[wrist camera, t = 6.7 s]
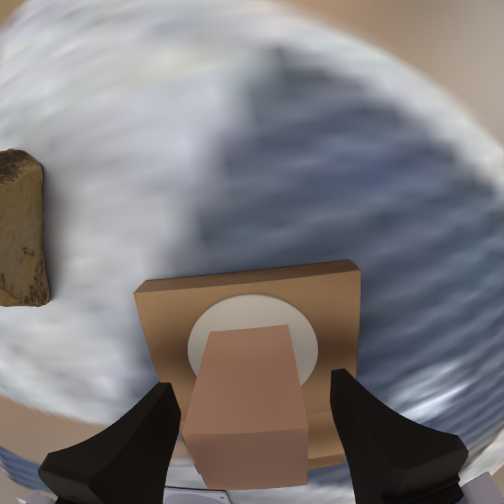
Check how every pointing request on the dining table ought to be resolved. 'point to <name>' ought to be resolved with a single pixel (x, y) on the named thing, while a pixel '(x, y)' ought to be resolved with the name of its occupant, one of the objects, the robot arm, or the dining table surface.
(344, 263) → the walnut board
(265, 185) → the dining table surface
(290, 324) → the cream disc
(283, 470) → the terracotta block
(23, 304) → the rock
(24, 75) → the dining table surface
